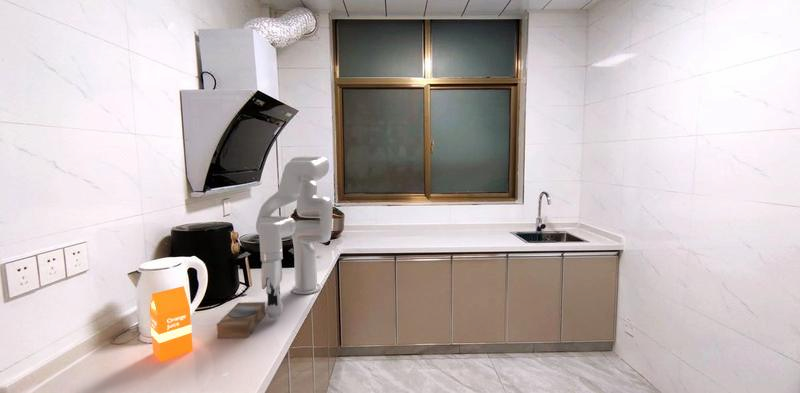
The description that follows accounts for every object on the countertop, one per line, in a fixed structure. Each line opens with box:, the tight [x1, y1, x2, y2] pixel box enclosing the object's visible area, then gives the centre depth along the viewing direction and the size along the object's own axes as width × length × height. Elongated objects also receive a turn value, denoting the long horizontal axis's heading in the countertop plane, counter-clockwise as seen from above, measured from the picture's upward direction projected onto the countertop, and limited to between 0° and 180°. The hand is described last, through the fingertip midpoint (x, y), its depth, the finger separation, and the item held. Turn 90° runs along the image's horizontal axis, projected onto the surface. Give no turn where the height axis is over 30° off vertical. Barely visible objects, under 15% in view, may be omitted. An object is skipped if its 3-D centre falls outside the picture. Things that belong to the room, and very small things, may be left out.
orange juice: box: [149, 285, 194, 363], centre depth 113 cm, size 8×9×20 cm
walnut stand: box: [216, 301, 267, 340], centre depth 131 cm, size 18×10×6 cm, turn 2°
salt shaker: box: [265, 284, 284, 319], centre depth 135 cm, size 6×6×13 cm
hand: (274, 303), depth 135 cm, fingers closed on salt shaker, 3 cm apart
